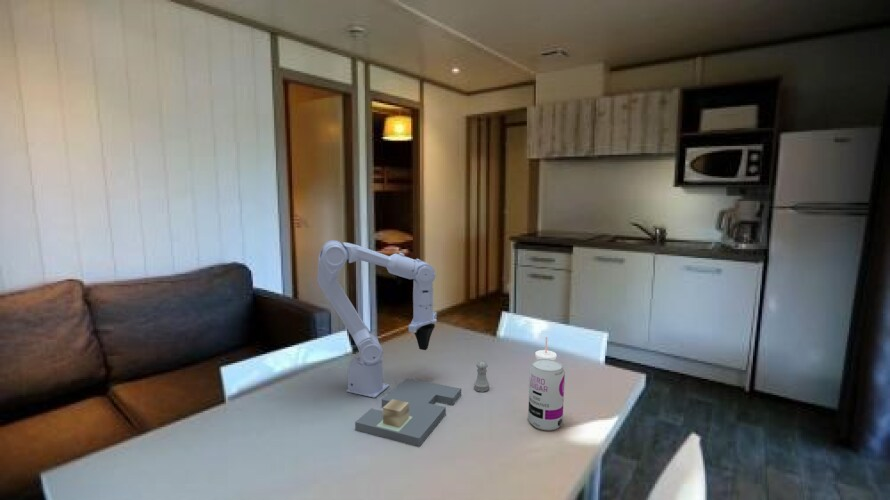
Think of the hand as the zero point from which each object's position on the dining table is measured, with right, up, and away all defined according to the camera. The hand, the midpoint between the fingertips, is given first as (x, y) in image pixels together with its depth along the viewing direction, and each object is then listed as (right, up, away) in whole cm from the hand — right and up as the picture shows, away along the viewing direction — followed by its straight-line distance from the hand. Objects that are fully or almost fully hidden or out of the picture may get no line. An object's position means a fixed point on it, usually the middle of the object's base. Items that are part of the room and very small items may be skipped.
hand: (423, 349), depth 126 cm
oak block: (-5, -12, -23) cm, 27 cm away
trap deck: (-2, -13, -15) cm, 20 cm away
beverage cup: (+36, -11, +2) cm, 37 cm away
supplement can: (+31, -14, -20) cm, 39 cm away
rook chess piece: (+17, -11, -2) cm, 20 cm away
